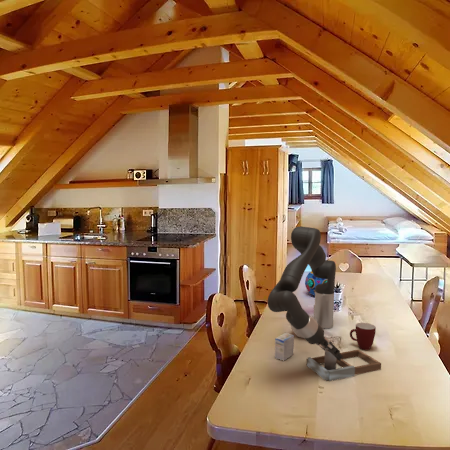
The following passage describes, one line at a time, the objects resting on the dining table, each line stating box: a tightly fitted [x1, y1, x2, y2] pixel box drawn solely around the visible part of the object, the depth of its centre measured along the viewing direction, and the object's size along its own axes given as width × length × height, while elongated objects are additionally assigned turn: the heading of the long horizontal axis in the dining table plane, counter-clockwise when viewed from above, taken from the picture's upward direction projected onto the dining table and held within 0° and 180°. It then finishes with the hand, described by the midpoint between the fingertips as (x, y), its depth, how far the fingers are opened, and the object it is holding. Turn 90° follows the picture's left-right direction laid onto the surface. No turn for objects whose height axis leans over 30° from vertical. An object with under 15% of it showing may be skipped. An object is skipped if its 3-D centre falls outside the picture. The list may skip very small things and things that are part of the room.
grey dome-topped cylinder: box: [323, 348, 337, 370], centre depth 147 cm, size 4×4×8 cm
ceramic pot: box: [304, 270, 328, 297], centre depth 244 cm, size 18×18×15 cm
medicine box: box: [274, 332, 295, 362], centre depth 158 cm, size 8×4×9 cm, turn 141°
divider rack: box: [305, 349, 382, 382], centre depth 149 cm, size 14×25×4 cm, turn 111°
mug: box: [349, 322, 376, 351], centre depth 167 cm, size 10×8×10 cm
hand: (333, 353), depth 147 cm, fingers open, 8 cm apart
